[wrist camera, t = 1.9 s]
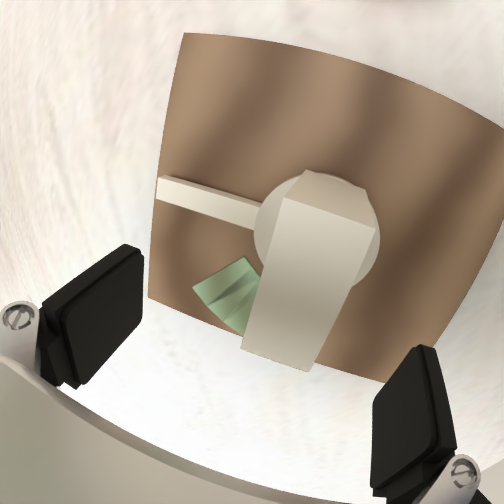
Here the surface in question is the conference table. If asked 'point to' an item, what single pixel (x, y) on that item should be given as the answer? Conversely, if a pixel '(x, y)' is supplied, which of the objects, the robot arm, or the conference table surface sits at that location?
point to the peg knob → (294, 256)
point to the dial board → (331, 162)
